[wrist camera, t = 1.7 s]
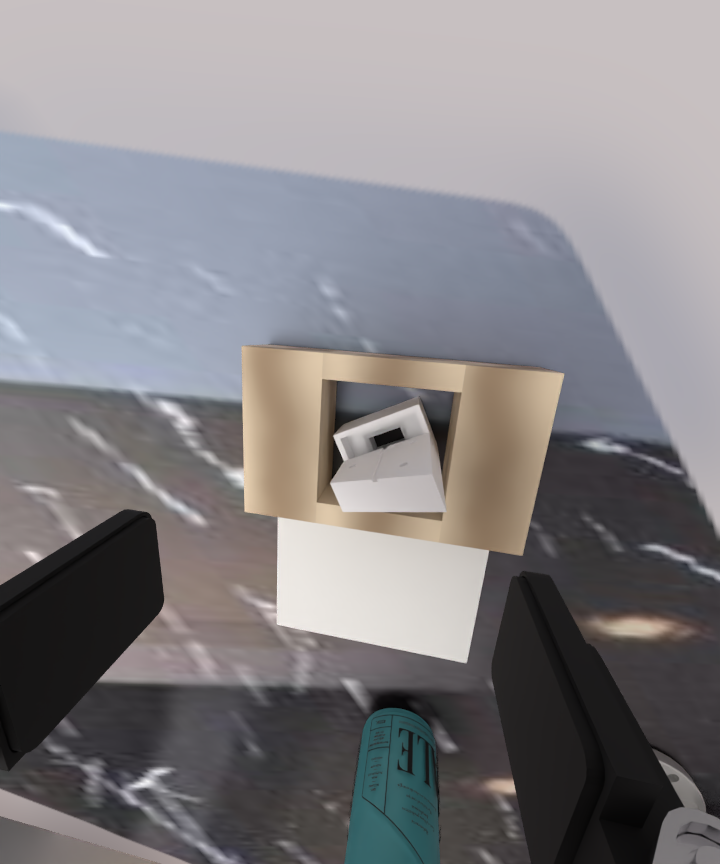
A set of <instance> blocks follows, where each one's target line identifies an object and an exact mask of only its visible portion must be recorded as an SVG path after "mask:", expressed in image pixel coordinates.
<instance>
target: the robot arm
mask: <svg viewBox="0 0 720 864" xmlns="http://www.w3.org/2000/svg"><path fill="white" fill-rule="evenodd" d="M163 603H164V593H163V584H162V575H161V566H160V558H159V549H158V540H157V531H156V523H155V521H154V520H153V519H152V518H151V515H150V514H149V513H147V512H142V511H136V510H129V509H127V510H123V511H121V512H119V513H118V514H116V515H114V516H113V517H111V518H109V519H108V520H106V521H104V522H103V523H101V524H100V525H98V526H96V527H95V528H93V529H91V530H90V531H88V532H87V533H85V534H83V535H82V536H80V537H78V538H77V539H75V540H73V541H72V542H70V543H69V544H67V545H65V546H64V547H62V548H60V549H59V550H57V551H56V552H54V553H52V554H51V555H49V556H47V557H46V558H44V559H43V560H41V561H39V562H38V563H36V564H34V565H33V566H31V567H29V568H28V569H26V570H25V571H23V572H21V573H20V574H18V575H16V576H15V577H13V578H12V579H10V580H8V581H7V582H5V583H3V584H2V585H0V769H1V770H5V771H10V769H11V768H12V767H13V766H14V765H15V764H16V763H17V762H18V761H19V760H20V759H21V758H22V756H23V755H24V754H25V753H27V752H30V751H32V750H33V749H35V748H36V747H37V746H38V745H39V744H40V743H41V742H42V741H43V740H44V739H45V738H46V737H47V736H48V735H49V733H50V732H51V731H52V730H53V729H54V728H55V727H56V726H57V725H58V724H59V722H60V721H61V720H62V719H63V718H64V717H65V716H66V715H67V714H68V713H69V711H70V710H71V709H72V708H73V707H74V706H75V705H76V704H77V703H78V702H79V701H80V699H81V698H82V697H83V696H84V695H85V694H86V693H87V692H88V691H89V690H90V688H91V687H92V686H93V685H94V684H95V683H96V682H97V681H98V680H99V679H100V677H101V676H102V675H103V674H104V673H105V672H106V671H107V670H108V669H109V668H110V667H111V665H112V664H113V663H114V662H115V661H116V660H117V659H118V658H119V657H120V656H121V654H122V653H123V652H124V651H125V650H126V649H127V648H128V647H129V646H130V645H131V643H132V642H133V641H134V640H135V639H136V638H137V637H138V636H139V635H140V634H141V633H142V631H143V630H144V629H145V628H146V627H147V626H148V625H149V624H150V623H151V622H152V620H153V619H154V618H155V617H156V616H157V615H158V614H159V612H160V611H161V609H162V607H163ZM492 680H493V685H494V690H495V694H496V699H497V704H498V709H499V713H500V718H501V723H502V728H503V732H504V737H505V742H506V746H507V751H508V756H509V761H510V765H511V770H512V775H513V779H514V784H515V789H516V794H517V798H518V803H519V808H520V812H521V817H522V822H523V827H524V831H525V836H526V841H527V845H528V850H529V855H530V860H531V864H720V819H718V818H716V817H714V816H712V815H709V814H707V813H706V805H705V802H704V800H703V797H702V794H701V793H700V791H699V790H698V788H697V786H696V785H695V783H694V781H693V780H692V778H691V777H690V775H689V774H688V773H687V772H686V771H685V770H684V769H683V767H682V766H680V765H679V764H678V763H677V762H675V761H674V760H673V759H671V758H670V757H668V756H666V755H664V754H663V753H661V752H659V751H657V750H655V749H652V748H651V746H650V744H649V742H648V741H647V739H646V737H645V735H644V733H643V732H642V730H641V728H640V726H639V724H638V723H637V721H636V719H635V717H634V715H633V714H632V712H631V710H630V708H629V706H628V705H627V703H626V701H625V699H624V698H623V696H622V694H621V692H620V690H619V689H618V687H617V685H616V683H615V681H614V680H613V678H612V676H611V674H610V672H609V671H608V669H607V667H606V665H605V663H604V662H603V660H602V658H601V656H600V655H599V653H598V652H597V650H596V649H595V648H594V647H593V646H592V645H590V644H586V642H585V640H584V638H583V636H582V634H581V632H580V630H579V629H578V627H577V625H576V623H575V621H574V619H573V617H572V616H571V614H570V612H569V610H568V608H567V606H566V604H565V602H564V601H563V599H562V597H561V595H560V593H559V591H558V589H557V588H556V586H555V584H554V582H553V580H552V578H551V577H550V576H549V575H545V574H539V573H533V572H526V571H523V572H521V574H520V576H519V577H517V576H513V577H512V579H511V583H510V587H509V592H508V596H507V600H506V604H505V609H504V613H503V617H502V621H501V626H500V630H499V634H498V638H497V643H496V647H495V651H494V656H493V660H492ZM0 864H160V863H156V862H153V861H150V860H146V859H143V858H140V857H136V856H133V855H130V854H126V853H123V852H120V851H116V850H113V849H110V848H106V847H103V846H99V845H96V844H92V843H89V842H86V841H82V840H79V839H76V838H72V837H69V836H66V835H62V834H59V833H55V832H52V831H49V830H45V829H42V828H38V827H35V826H32V825H28V824H25V823H21V822H18V821H14V820H11V819H8V818H4V817H1V816H0Z"/></svg>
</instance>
